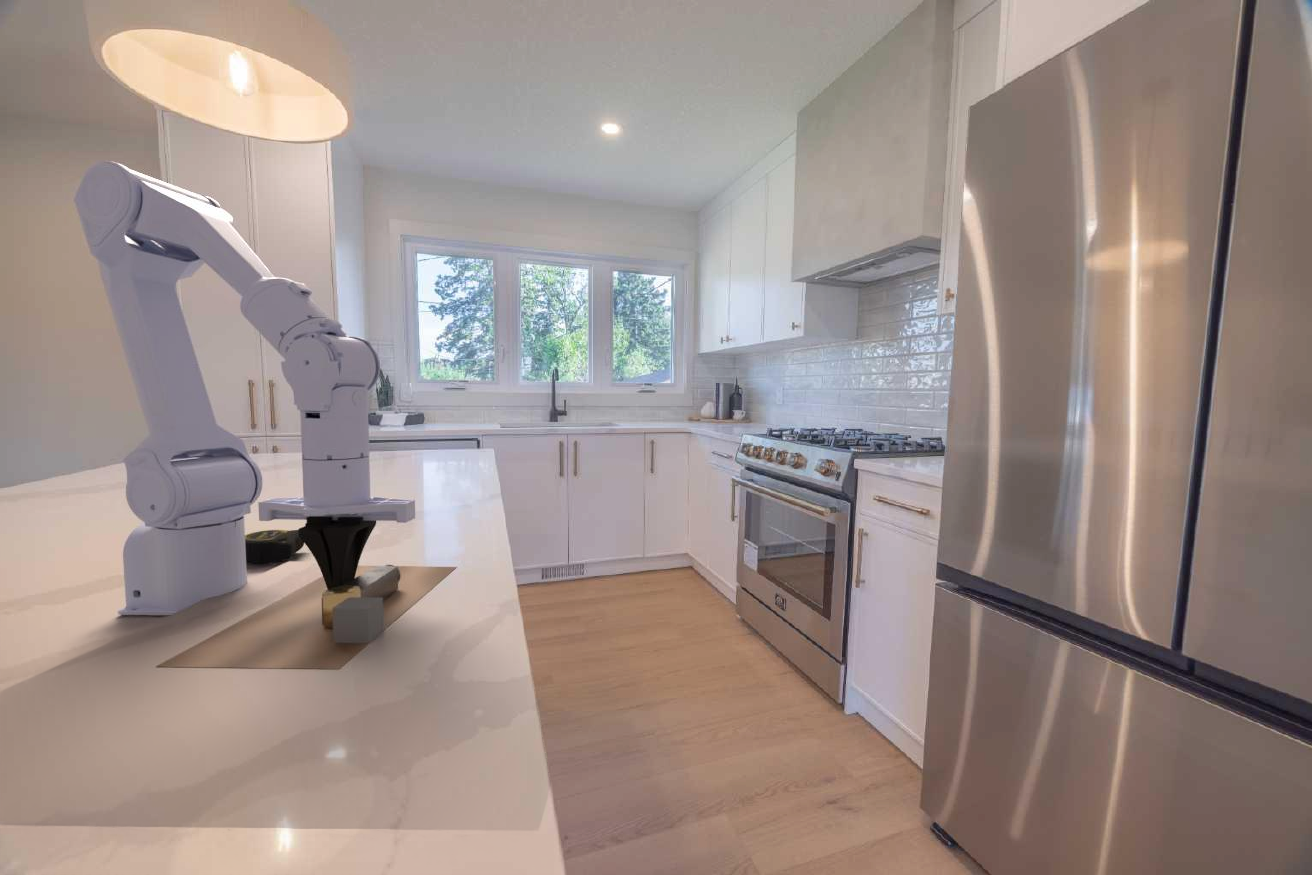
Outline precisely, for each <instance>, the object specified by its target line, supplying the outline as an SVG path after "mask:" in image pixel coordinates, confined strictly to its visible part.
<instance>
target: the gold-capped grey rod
mask: <svg viewBox="0 0 1312 875" xmlns="http://www.w3.org/2000/svg"><path fill="white" fill-rule="evenodd" d="M373 566H374V567H373V568H371V569H369V570H368V571H366V572H364V573H363V574H361V575H359V576H358V577H356V578H354V579H353V580H351V581H349V582H348V583H346V584H345V585H343V586H339V587H334V588H331V589H328V590H326V591H324V592H323V593H322V625H323V626H325V627H327V628H333V612H332V608H333V607H335V606H337V605H338V604H340V603H341V602H343V601H344V600H346V599H347V598H349V597H365V598H383V600H384V599H385V598H387V597H388V596H389V595H391V594H392V593H393V592H395V591H396V590H397V589H398V582H399V581H400V577H401V575H400V571H399V570H398V566H399V565H393V564H386V565H373Z"/></svg>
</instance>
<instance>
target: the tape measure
mask: <svg viewBox="0 0 1312 875" xmlns="http://www.w3.org/2000/svg"><path fill="white" fill-rule="evenodd" d="M304 545H305V543H304V542H303V541H302V540H301V538H300V537H299V535H298V529H294V530H293V529H291V530H284V529H269V530H268V529H266V530H259V531H255V532H254V531H253V532H251V533H248V534H245V547H246V565H252V566H253V565H254V566H255V565H257V566H258V565H259V566H260V565H266V564H272V563H279V562H283V561H288V560H290V559H291V558H293V556H294V555H295V554H296V553H297V552H299V551H301V549H303V547H304Z"/></svg>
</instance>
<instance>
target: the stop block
mask: <svg viewBox="0 0 1312 875" xmlns="http://www.w3.org/2000/svg"><path fill="white" fill-rule="evenodd" d="M332 612H333V642H334V643H369V644H370V643H371V642H373V641H374V640H375V639H376V638H377V637H379V636H380V635H381V634H382V633H383V632H384V631H385V630H384V624H383V598H365V597H349V598H347V599H346V600H344V601H343V602H341V603H340V604H338V605H337V606H335V607H333V608H332ZM382 631H383V632H382ZM381 632H382V633H381ZM380 633H381V634H380ZM379 634H380V635H379ZM375 637H376V638H375ZM374 638H375V639H374ZM373 639H374V640H373ZM372 640H373V641H372Z"/></svg>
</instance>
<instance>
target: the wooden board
mask: <svg viewBox="0 0 1312 875" xmlns="http://www.w3.org/2000/svg"><path fill="white" fill-rule="evenodd" d="M374 566H375V565H358V566H357V570H356V575H355V578H356V577H358V576H359V575H361V574H363V573H364V572H366V571H368V570H369V569H371V568H373V567H374ZM397 566H398V570H399V571H400V575H401V577H400V581H399V582H398V589H397V590H396V591H395V592H393V593H392V594H391V595H389V596H388V597H387V598H385V599H384V600H383V624H384V631H386V629H388V627H390V626H391V625H392V624H394V622H396V621H397V620H398V619H399V618H400V617H401V616H403V615H405V613H406V612H407V611H409V610H410V609H411V608H412V607H413V606H414V605H416V603H419V601H420V600H421V599H423V597H425V596H426V595H427V594H428V593H429V592H431V591H432V590H433V589H434V588H435V587H436V586H437V585H439V583H441V582H442V581H443V580H445V578H447V577H448V576H449V575H450V574H451V573H452V572H454V571H455V570H456V569H457V568H458V566H419V565H418V566H416V565H415V566H413V565H412V566H411V565H407V566H406V565H405V566H404V565H403V566H402V565H397ZM326 590H328V589H327V586H326V583H325V580H324V578H323V575H322V576H320V577H319V578H316V579H315V580H313V581H311V582H309V583H308V584H306V585H304V586H302V587H300V588H298V589H296V590H295V591H293V592H291V593H289V594H287V595H286V596H283V597H282V598H280V599H278V600H276V601H274V602H272V603H270V604H269V605H267V606H265V607H263V608H261V609H260V610H258V611H256V612H254V613H252V614H251V615H248V616H246V617H245V618H242V619H241V620H238V621H237V622H236V623H233V624H232V625H230V626H228V627H226V628H224V629H223V630H221V631H219V632H217V633H215V634H213V635H212V636H210V637H208V638H205V639H204V640H202V641H200V642H198V643H197V644H195V645H193V646H191V647H189V648H188V649H187V648H186V650H184V651H182V652H180V653H178V654H176V655H174V656H172V657H171V658H169V659H167V660H165V661H163V662H162V663H160V664H158V665H156V666H155V668H180V669H181V668H187V669H188V668H191V669H192V668H195V669H198V668H199V669H200V668H201V669H267V670H268V669H269V670H270V669H271V670H273V669H274V670H276V669H278V670H340V669H342V667H344V666H345V665H346V664H347V663H348V662H349V661H350V660H352V659H353V658H355V657H356V656H357V655H358V654H359V653H360V652H361V651H362V650H363V649H365V648H366V647H367V646H368V645H369V644H370V643H334V642H333V628H327V627H325V626H323V625H322V593H323V592H324V591H326ZM384 631H382V632H381V633H380V634H379V635H378V636H380V635H381V634H382V633H383V632H384ZM376 638H377V637H375V638H374V639H373V640H372V641H371V642H373V641H374V640H375V639H376Z"/></svg>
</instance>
